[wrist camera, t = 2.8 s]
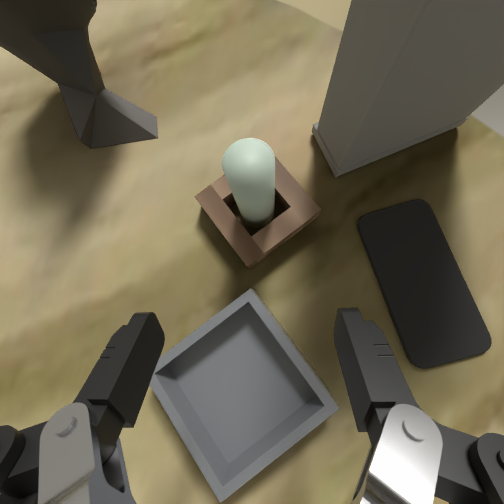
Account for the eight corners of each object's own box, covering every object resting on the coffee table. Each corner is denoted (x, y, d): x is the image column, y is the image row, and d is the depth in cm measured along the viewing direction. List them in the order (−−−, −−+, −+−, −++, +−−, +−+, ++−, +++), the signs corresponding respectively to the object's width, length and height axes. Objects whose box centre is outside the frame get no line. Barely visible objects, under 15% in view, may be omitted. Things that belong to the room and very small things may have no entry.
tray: (228, 470, 22) (220, 503, 19) (160, 360, 24) (141, 371, 21) (329, 390, 22) (339, 408, 19) (253, 288, 25) (250, 288, 21)
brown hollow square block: (249, 269, 25) (246, 266, 23) (201, 205, 27) (194, 196, 24) (316, 218, 25) (321, 209, 23) (265, 158, 27) (264, 144, 24)
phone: (426, 195, 24) (497, 349, 21) (421, 199, 25) (489, 347, 22) (354, 217, 25) (415, 372, 22) (351, 220, 25) (410, 369, 23)
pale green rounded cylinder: (254, 234, 26) (242, 197, 16) (234, 209, 26) (211, 159, 16) (281, 214, 26) (286, 165, 16) (260, 189, 26) (253, 128, 16)
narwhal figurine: (152, 29, 31) (-7, -320, 13) (157, 137, 28) (-32, -119, 11) (46, 49, 32) (-234, -254, 14) (42, 156, 29) (-309, -53, 12)
